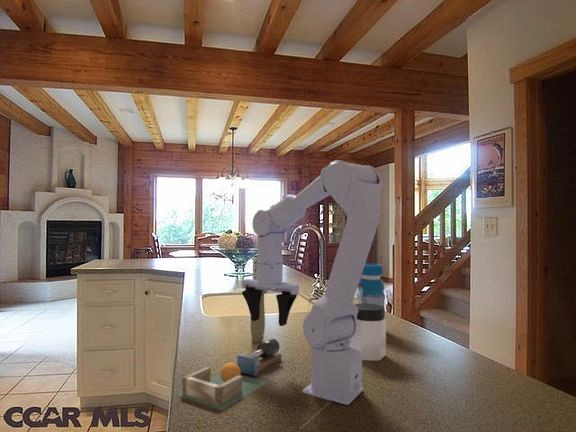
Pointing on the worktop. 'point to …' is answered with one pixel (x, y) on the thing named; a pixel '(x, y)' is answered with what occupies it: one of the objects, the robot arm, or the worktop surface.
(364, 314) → the jar
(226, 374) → the ball
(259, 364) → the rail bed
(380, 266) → the beverage bottle
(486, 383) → the worktop surface
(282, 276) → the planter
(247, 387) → the mat
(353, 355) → the robot arm
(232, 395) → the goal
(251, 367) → the dark grey round-headed part
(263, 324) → the handle
